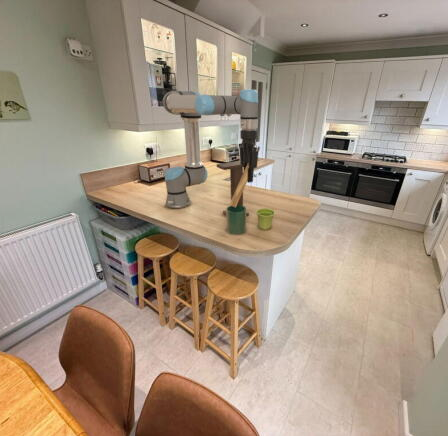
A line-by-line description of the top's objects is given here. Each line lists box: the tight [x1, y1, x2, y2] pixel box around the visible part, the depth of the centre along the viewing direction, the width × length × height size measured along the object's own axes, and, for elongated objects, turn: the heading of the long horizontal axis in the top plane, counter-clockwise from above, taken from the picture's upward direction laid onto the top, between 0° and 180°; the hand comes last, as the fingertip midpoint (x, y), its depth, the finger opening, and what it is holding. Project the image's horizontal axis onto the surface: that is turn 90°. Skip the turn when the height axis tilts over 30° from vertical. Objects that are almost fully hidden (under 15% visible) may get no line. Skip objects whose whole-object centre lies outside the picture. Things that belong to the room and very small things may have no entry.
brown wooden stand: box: [216, 160, 250, 217], centre depth 129 cm, size 11×14×30 cm
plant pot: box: [256, 207, 276, 230], centre depth 121 cm, size 9×9×9 cm
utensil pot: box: [226, 205, 247, 235], centre depth 117 cm, size 10×10×12 cm
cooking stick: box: [228, 163, 249, 207], centre depth 111 cm, size 2×22×2 cm
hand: (248, 181), depth 113 cm, fingers closed on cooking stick, 2 cm apart
